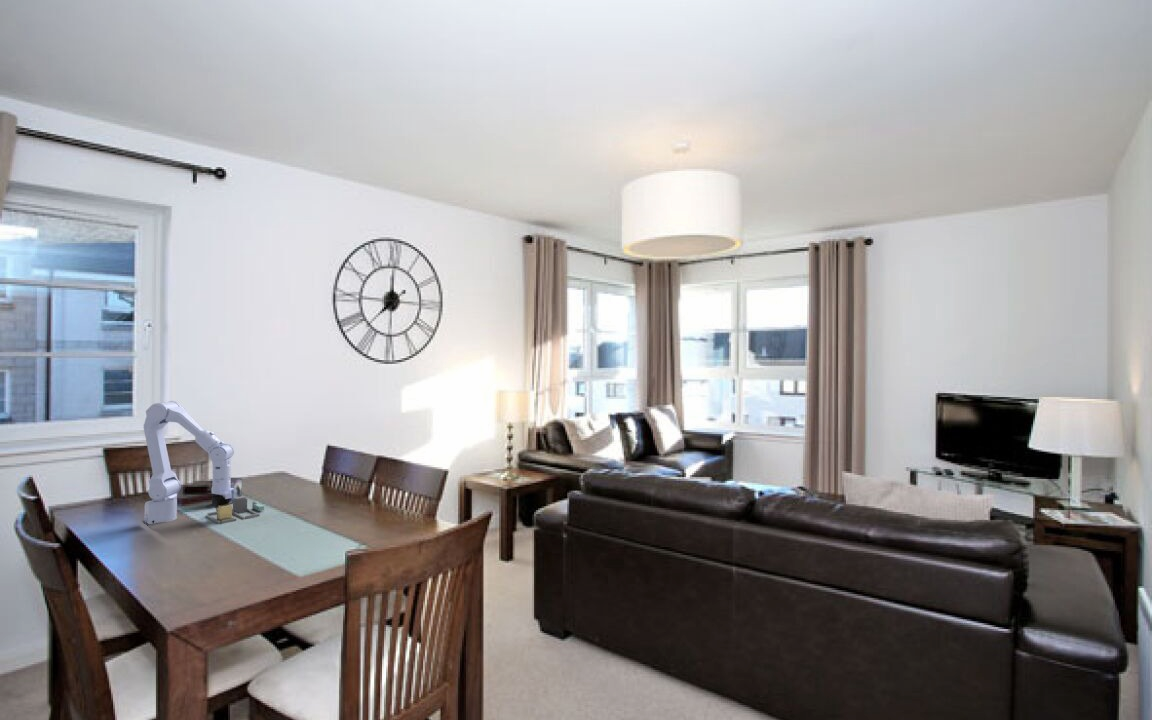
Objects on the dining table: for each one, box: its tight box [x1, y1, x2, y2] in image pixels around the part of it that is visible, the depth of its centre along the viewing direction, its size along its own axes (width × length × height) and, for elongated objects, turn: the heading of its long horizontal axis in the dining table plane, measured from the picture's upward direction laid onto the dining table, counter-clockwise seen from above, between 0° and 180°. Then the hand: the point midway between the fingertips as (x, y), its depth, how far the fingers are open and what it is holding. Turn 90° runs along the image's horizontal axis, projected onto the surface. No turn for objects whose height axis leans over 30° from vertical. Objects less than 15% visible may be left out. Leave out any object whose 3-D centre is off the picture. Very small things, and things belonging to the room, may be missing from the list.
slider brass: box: [216, 504, 233, 522], centre depth 212 cm, size 4×3×6 cm
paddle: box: [251, 501, 265, 512], centre depth 226 cm, size 2×7×3 cm, turn 49°
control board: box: [205, 507, 261, 525], centre depth 219 cm, size 22×16×2 cm
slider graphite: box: [232, 495, 248, 514], centre depth 224 cm, size 4×3×6 cm
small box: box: [211, 477, 243, 507], centre depth 238 cm, size 11×6×10 cm, turn 179°
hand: (221, 514), depth 215 cm, fingers closed
